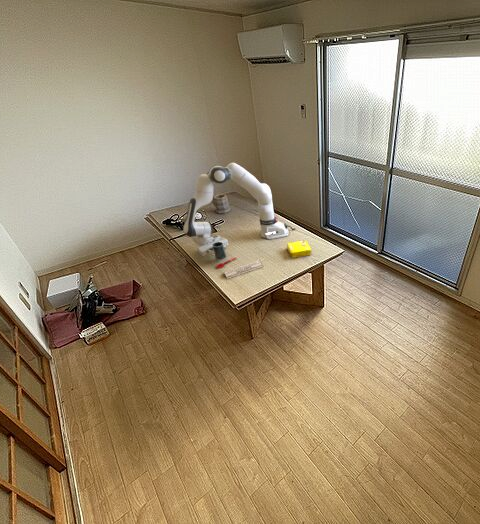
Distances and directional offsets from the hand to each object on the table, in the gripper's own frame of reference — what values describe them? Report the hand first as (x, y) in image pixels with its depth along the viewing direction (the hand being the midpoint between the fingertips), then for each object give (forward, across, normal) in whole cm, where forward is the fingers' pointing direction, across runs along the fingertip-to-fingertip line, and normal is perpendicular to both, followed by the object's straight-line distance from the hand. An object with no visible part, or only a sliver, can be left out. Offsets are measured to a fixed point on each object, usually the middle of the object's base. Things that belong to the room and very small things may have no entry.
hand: (219, 250), depth 190 cm
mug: (+1, 0, +6) cm, 6 cm away
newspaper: (+21, +2, +8) cm, 23 cm away
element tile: (+33, +42, +8) cm, 54 cm away
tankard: (-77, +48, +8) cm, 91 cm away
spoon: (+5, 0, +8) cm, 10 cm away
